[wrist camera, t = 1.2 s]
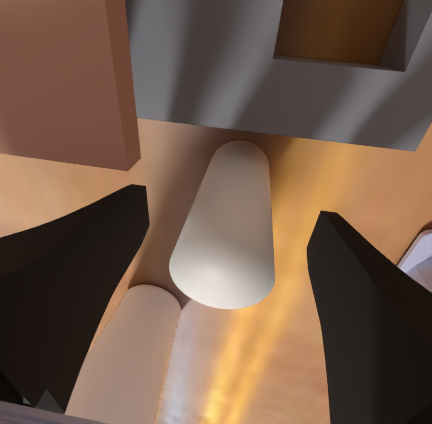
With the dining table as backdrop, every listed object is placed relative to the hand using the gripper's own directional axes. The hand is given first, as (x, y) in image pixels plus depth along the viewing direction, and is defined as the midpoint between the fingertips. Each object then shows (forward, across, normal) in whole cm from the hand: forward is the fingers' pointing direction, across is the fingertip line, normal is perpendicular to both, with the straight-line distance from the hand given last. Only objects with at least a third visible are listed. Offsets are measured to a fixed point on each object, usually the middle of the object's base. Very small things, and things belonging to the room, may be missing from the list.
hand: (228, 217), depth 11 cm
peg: (+5, 0, 0) cm, 5 cm away
